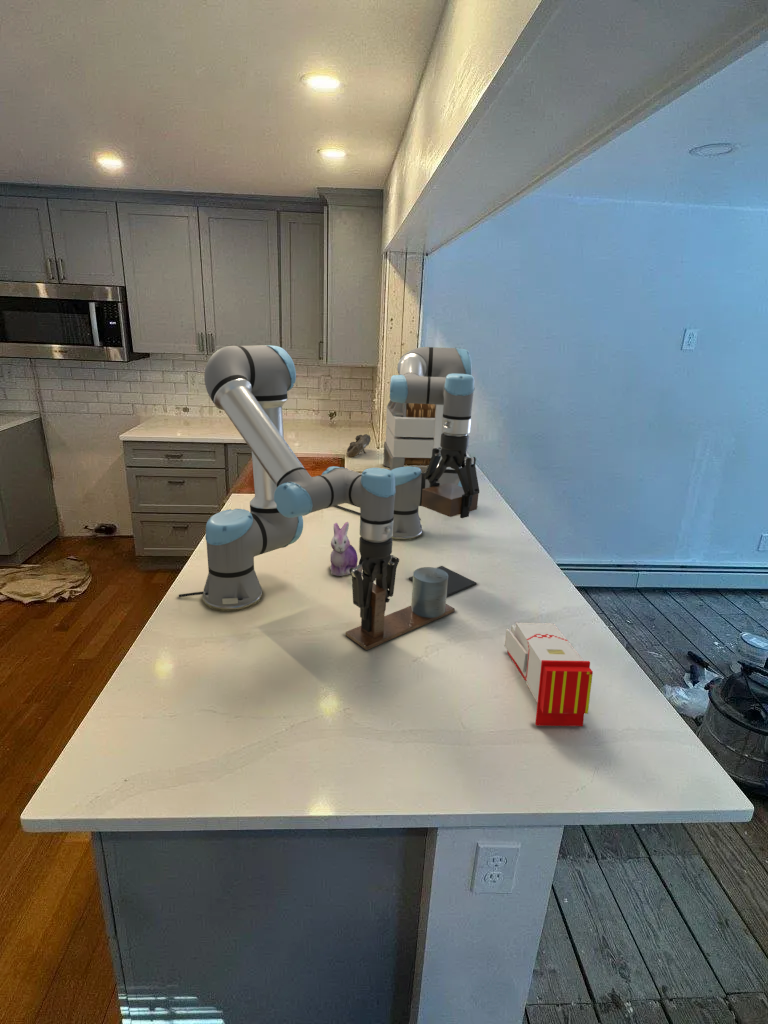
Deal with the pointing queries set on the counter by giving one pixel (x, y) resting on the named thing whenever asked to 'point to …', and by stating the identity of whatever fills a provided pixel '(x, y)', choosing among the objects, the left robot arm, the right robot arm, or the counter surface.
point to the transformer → (409, 434)
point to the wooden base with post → (405, 609)
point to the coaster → (455, 581)
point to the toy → (551, 672)
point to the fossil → (358, 445)
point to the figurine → (342, 552)
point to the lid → (446, 499)
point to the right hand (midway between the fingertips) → (448, 511)
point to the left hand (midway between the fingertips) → (372, 626)
